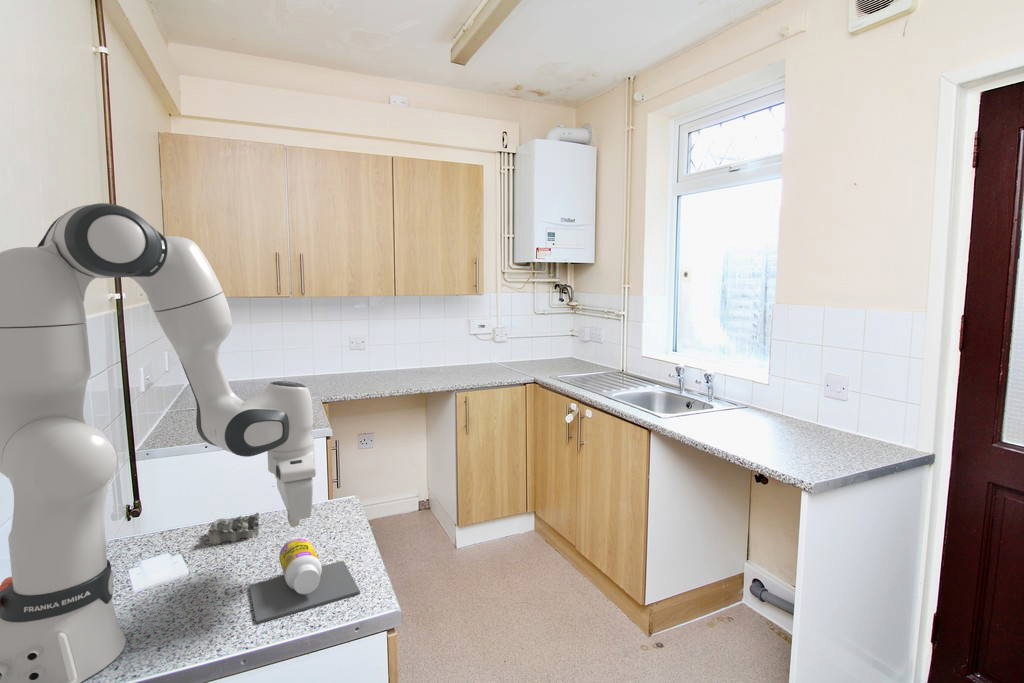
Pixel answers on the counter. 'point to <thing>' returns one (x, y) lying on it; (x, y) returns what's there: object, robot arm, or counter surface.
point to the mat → (283, 600)
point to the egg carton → (224, 529)
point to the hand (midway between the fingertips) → (293, 524)
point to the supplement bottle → (300, 565)
